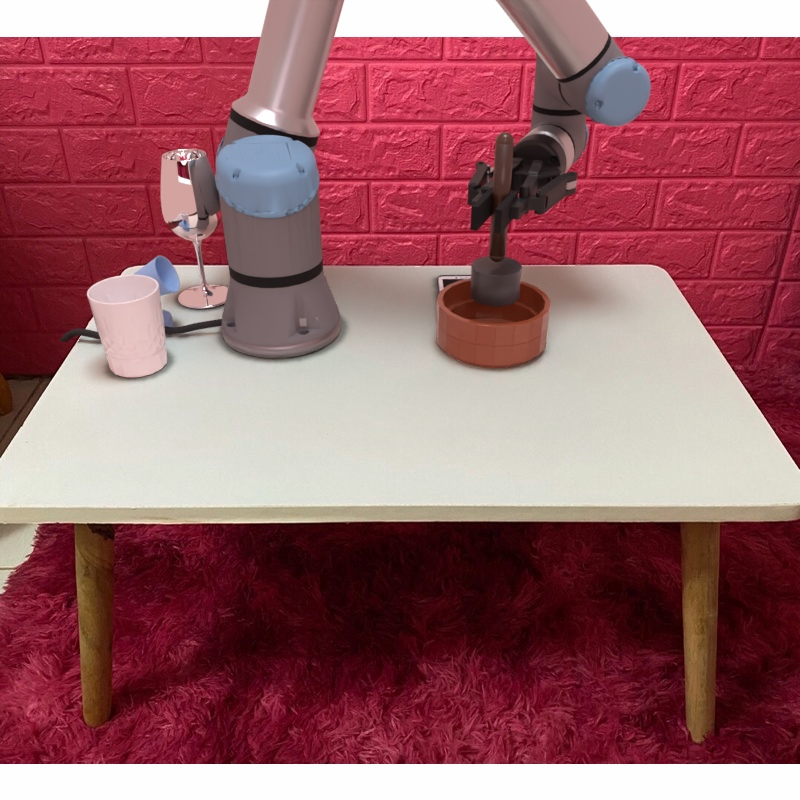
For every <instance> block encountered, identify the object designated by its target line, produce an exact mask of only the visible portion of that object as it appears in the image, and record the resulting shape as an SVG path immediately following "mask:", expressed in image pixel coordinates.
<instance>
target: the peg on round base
mask: <svg viewBox="0 0 800 800" xmlns="http://www.w3.org/2000/svg"><path fill="white" fill-rule="evenodd" d="M494 145H495V146H494V159H493V161H494V162H493V167H494V176H493V178H492V179H493V193H492V210H491V216H490V229H489V245H488V255H486V256H482V257H478V258H476V259H474V260H473V261H472V263H471V265H470V266H471V268H470V275H471V285H470V296H471V298H472V299H473V300H474V301H475V302H477V303H479V304H482V305H486V306H507V305H511V304H513V303H515V302H516V301H518V299H519V295H520V283H521V281H522V270H523V266H522V264H521V263H520V261H518V260H516V259H515V258H511V257H508V256H507V245H508V232H509V231H508V229H509V225H508V226H507V227H506V228H505V229H504V231H503V232H502V233H501V234H495V233H494V223H495V209H496V208H497V207H498V206H499V205H500V204H501V203H502V201H503V200H504V199H505V198H506V197H507V196H508V195H509V194H510V190H511V176H512V162H513V148H514V146H515V139H514V137H513V135H512V134H511V133H510V132H507V131H502V132H501V133H499V134H498V135H497V136H496V138H495V143H494Z"/></svg>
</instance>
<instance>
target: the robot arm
mask: <svg viewBox="0 0 800 800" xmlns="http://www.w3.org/2000/svg"><path fill="white" fill-rule="evenodd" d="M495 1H496V3H497V4H498V5H499V6H500V8H501V9H502V11H504V13H505V15H507V17H508V18H509V19H510V20H511V22H512V23H513V25H514V26H515V27H516V28H517V30H518V31H519V32H520V33H521V35H522V36H523V37H524V39H525V40H526V42H528V44H529V45H530V46H531V47H532V49H533V50H534V52H535V56H536V57H535V72H534V83H533V84H534V85H533V100H532V108H531V117H530V120H531V121H530V129H529V132H528V133H526V135H524V136H523V137H521V139H520V140H518V142H517V143H516V144H514V148H513V162H512V176H511V190H510V194H509V195H508V196H507V197H506V198H505V199H504V200H503V201H502V203H501V204H500V205H499V206H498V207H497V208H496V209H495V223H494V233H495V234H501V233H502V232H503V231H504V229H505V228H506V227H507V226H508V227H509V225H510V224H511V222H512V221H513V220H517V221H518V220H520V219H522V218H523V216H525V215H528V214H529V212H530V211H533V213H534V214H535V215H539V216H541V215H545V214H547V212H549V211H550V210H551V209H552V208H553V207H555V206H556V205H557V204H558V203H560V202H561V201H562V200H564V199H565V198H566V197H570V196H572V195H575V194H576V192H577V183H578V175H579V173H578V172H576V171H573V170H572V171H569V170H570V169H571V167H572V166H573V165H574V164H575V163H576V162H577V161H579V160H580V158H581V157H582V155H583V152H585V150H586V148H587V144H588V142H589V133H590V131H589V126H588V123H587V117H588V118H589V119H590V120H591V121H592V122H594V123H596V124H602V125H605V126H607V127H616V128H617V127H622V126H626V125H628V124H629V123H631V122H633V121H634V120H635V119H637V118H638V117H639V115H640V114H642V112H643V111H644V110H645V108H646V107H647V104H648V102H649V100H650V96H651V90H652V83H651V79H650V75H649V73H648V71H647V69H646V68H645V67H644V66H643V65H642V64H640V63H638V61H637V60H636V59H634V58H632V57H630V56H626V55H625V54H624V52H623V51H622V49H621V48H620V47H619V45H618V44H617V42H616V41H615V40H614V38H613V37H612V36H611V35H610V33H609V31H608V30H607V28H606V27H605V26H604V24H603V23H602V22H601V20H600V19H599V17H598V16H597V14H596V13H595V11H594V9H592V6H590V4H589V2H588V1H587V0H495ZM344 3H345V0H268V4H267V8H266V12H265V17H264V21H263V24H262V29H261V33H260V38H259V42H258V46H257V51H256V54H255V59H254V64H253V67H252V72H251V76H250V80H249V84H248V89H247V92H246V93H245V95H243V96H241V97H239V98H238V99H236V100H234V101H233V102H232V103H231V108H230V112H229V115H228V116H229V117H228V120H227V125H226V128H225V133H224V136H223V137H222V138H221V142H220V143H219V144H218V146H217V151H216V156H215V173H214V177H215V182H216V187H217V190H218V191H219V199H220V206H221V214H222V219H221V222H222V227H223V236H224V243H225V244H224V245H225V251H226V259H227V267H228V273H229V282H228V286H227V288H228V291H227V296H226V301H225V303H224V305H223V311H222V316H221V318H218V319H212V320H206V321H199V322H193V323H190V324H185V325H180V326H174V327H167V326H165V333H166V334H165V335H181V334H186V333H191V332H194V331H195V332H196V331H200V330H205V329H212V328H217V327H221V330H222V331H221V332H222V337H223V340H224V342H225V343H226V345H228V346H229V347H230V348H232V349H233V350H235V351H237V352H239V353H241V354H244V355H246V356H247V355H248V356H253V357H257V358H258V357H259V358H264V359H265V358H266V359H267V358H268V359H280V358H282V359H283V358H293V357H297V356H303V355H306V354H310V353H313V352H316V351H318V350H320V349H322V348H325V347H326V346H328V345H329V344H331V343H333V341H334V340H335V339H337V337H338V336H339V334H340V332H341V329H342V326H341V325H342V324H341V323H342V321H341V313H340V309H339V306H338V304H337V301H336V298H335V297H334V295H333V292H332V289H331V287H330V285H329V282H328V280H327V277H326V275H325V271H324V261H323V259H324V258H323V242H322V224H321V211H320V210H321V209H320V195H319V192H320V191H319V190H320V189H319V188H320V183H321V182H320V181H321V180H320V171H319V169H318V165H317V159H316V156H315V153H316V152H315V151H316V148H317V144H318V140H319V137H320V134H321V131H320V129H319V127H318V125H317V122H316V120H315V119H314V112H315V107H316V105H317V100H318V98H319V93H320V89H321V86H322V82H323V79H324V75H325V71H326V68H327V63H328V62H329V61H328V60H329V58H330V53H331V50H332V46H333V44H334V40H335V36H336V32H337V28H338V24H339V22H340V17H341V15H342V11H343V7H344ZM493 176H494V166H493V167H492V165H491V164H487V163H486V162H485V161H483V160H479V161H476V162H475V172H474V173H473V175H472V176H471V178H470V180H469V182H468V183H467V205H468V206H470V207H471V210H470V231H475V232H478V231H479V230H480V228H482V226H483V225H485V223H486V222H487V221H488V220H489V218H491V210H492V193H493ZM78 336H79V337H80V336H81V337H86V338H90V339H94V340H100V341H101V339H100V336H99V334H98V331H97V330H93V329H92V330H91V329H89V328H88V329H87V328H74V329H70V330H69V331H67V332H65V333H64V334H63V335H62V336H61V338H60V340H59V342H61V343H66V342H69V341H70V340H72V339H73V338H75V337H78Z"/></svg>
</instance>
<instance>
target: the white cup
mask: <svg viewBox="0 0 800 800" xmlns="http://www.w3.org/2000/svg"><path fill="white" fill-rule="evenodd" d="M86 296H87V300H88V303H89V307H90V310H91V314H92V317H93V320H94V323H95V327H96V332H98V334H99V336H100V339H101V340H100V343H101V346H102V347H103V351H104V352H105V356H106V359H107V363H108V367H109V369H110V370H111V372H112V373H113V374H114V375H116V376H118V377H119V376H120V377H123V378H141V377H147V376H150V375H153V374H155V373H156V372H157V373H158V372H159V371H160V370H162V369H163V368H164V367H165V366H166V365H167V364H168V351H167V345H166V341H167V337H166V334H165V327H164V319H163V312H162V310H163V306H162V299H161V296H160V290H159V284H158V282H157V281H156V280H155V279H153V278H151V277H148V276H143V275H133V274H122V275H116V276H112V277H108V278H105V279H102V280H100V281H97V282H96V283H94V284H92V285H91V286H90V287H89V288H88V290H87V291H86Z"/></svg>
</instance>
